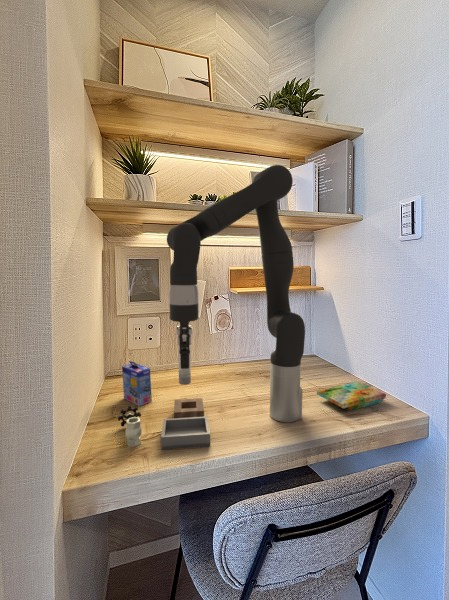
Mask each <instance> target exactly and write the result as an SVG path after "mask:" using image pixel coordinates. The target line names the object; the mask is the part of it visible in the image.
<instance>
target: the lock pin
mask: <svg viewBox="0 0 449 600" xmlns="http://www.w3.org/2000/svg"><path fill="white" fill-rule="evenodd" d="M177 347H178V349H177V350H178V384H179V385H181V386H182V385H183V386H185V385H190V384H191V383H192V374H191V373H192V372H191V371H192V370H191V368H192V367H191V365H192V362H191V361H192V360H191V357H192V355H191V354H192V353H191V348H192V347H191V345H190V346H189V351H190V354H189V368H188V369H181V357H180V353H179V351H180V346H179V345H177ZM182 349H187V350H188V348H187V347H182Z"/></svg>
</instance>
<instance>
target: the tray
mask: <svg viewBox="0 0 449 600" xmlns="http://www.w3.org/2000/svg"><path fill="white" fill-rule="evenodd" d="M210 431H211V430H210V425H209V416H205V415H204V417H190V418H174V417H173V418H163V421H162V427H161V433H160V434H161V435H160V449H161V451H169V450H171V451H172V450H184V449H197V448H198V449H199V448H208V447H209V448H210V447H211V432H210Z"/></svg>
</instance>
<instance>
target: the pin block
mask: <svg viewBox="0 0 449 600" xmlns="http://www.w3.org/2000/svg"><path fill="white" fill-rule="evenodd" d="M173 404H174V405H173V419H174V418H190V417H205V407H204V401H203V398H201V397H198V398H184V399H183V398H181V399H178V398H177V399H174V403H173Z"/></svg>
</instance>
